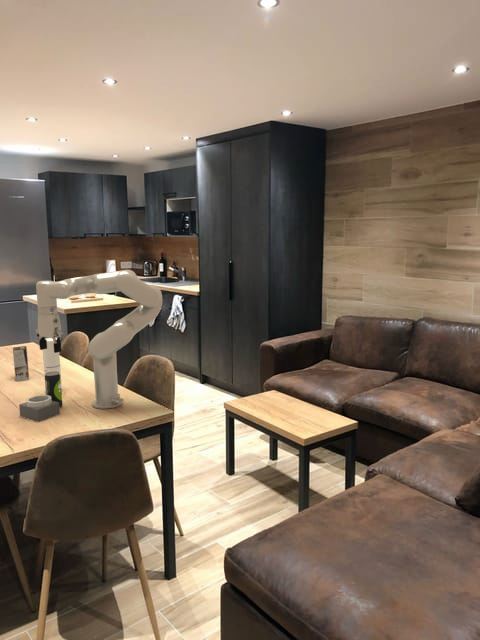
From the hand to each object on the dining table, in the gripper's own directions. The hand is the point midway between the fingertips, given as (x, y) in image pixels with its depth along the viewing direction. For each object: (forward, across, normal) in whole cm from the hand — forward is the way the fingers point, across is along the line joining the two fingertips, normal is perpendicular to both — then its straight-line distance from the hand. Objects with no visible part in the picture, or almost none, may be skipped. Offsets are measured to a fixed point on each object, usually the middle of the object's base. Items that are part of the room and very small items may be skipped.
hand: (50, 350), depth 210 cm
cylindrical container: (+25, +19, -13) cm, 34 cm away
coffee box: (+25, +52, -18) cm, 60 cm away
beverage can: (+25, -1, 0) cm, 25 cm away
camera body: (+25, -4, +10) cm, 27 cm away
